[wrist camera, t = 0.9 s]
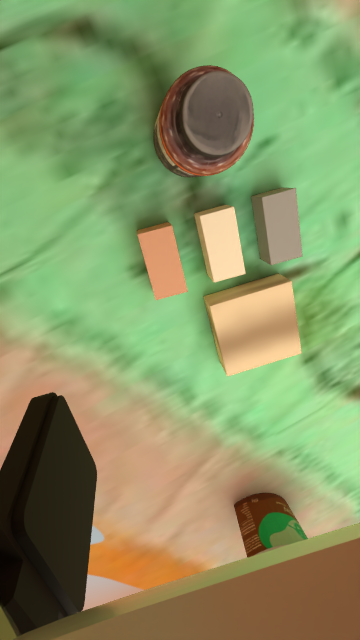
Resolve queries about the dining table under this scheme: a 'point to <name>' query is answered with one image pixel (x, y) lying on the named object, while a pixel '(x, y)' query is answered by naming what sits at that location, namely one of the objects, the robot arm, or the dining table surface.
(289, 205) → the brick slate
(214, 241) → the brick cream
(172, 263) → the brick terracotta
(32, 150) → the dining table surface
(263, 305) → the oak slab
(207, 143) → the supplement bottle
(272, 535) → the food container
